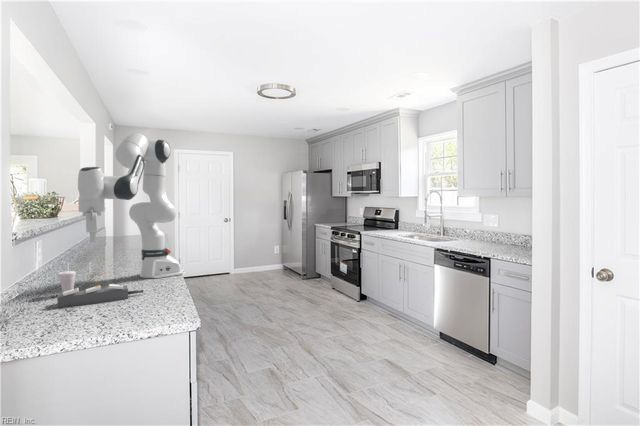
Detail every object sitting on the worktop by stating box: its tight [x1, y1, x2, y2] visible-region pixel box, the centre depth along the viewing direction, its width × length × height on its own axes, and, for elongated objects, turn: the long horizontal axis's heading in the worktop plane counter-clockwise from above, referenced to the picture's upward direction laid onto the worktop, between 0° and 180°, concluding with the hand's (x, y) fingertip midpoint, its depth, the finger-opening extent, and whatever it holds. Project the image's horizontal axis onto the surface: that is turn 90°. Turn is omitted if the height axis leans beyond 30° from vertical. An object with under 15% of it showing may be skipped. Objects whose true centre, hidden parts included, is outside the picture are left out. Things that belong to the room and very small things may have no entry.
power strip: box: [56, 285, 144, 309], centre depth 151 cm, size 30×7×4 cm, turn 121°
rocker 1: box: [63, 287, 80, 296], centre depth 144 cm, size 5×3×1 cm, turn 121°
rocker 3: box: [108, 283, 124, 289], centre depth 152 cm, size 5×3×1 cm, turn 122°
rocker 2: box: [85, 285, 102, 293], centre depth 148 cm, size 5×3×1 cm, turn 120°
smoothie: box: [57, 262, 77, 293], centre depth 159 cm, size 6×6×14 cm
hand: (92, 241), depth 147 cm, fingers closed
